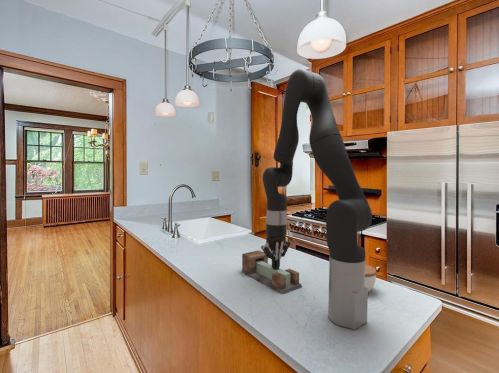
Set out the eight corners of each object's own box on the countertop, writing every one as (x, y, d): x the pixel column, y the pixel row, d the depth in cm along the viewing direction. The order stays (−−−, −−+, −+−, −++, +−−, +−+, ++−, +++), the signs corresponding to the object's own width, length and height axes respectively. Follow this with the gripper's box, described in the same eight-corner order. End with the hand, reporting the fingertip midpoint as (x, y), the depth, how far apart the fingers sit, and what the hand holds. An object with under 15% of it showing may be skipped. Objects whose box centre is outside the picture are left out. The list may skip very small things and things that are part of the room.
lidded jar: (351, 280, 99) (352, 256, 99) (381, 290, 91) (382, 264, 90) (336, 288, 92) (336, 262, 92) (366, 300, 84) (367, 271, 83)
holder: (301, 287, 93) (302, 266, 93) (283, 294, 88) (283, 272, 87) (259, 267, 112) (259, 250, 112) (241, 272, 107) (241, 254, 107)
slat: (290, 284, 94) (290, 273, 93) (284, 286, 92) (284, 274, 92) (255, 267, 109) (255, 258, 109) (249, 269, 108) (249, 259, 107)
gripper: (269, 226, 89) (268, 276, 90) (296, 222, 97) (295, 268, 98) (255, 222, 95) (255, 269, 96) (282, 219, 103) (281, 262, 104)
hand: (275, 268), depth 97 cm, fingers closed
